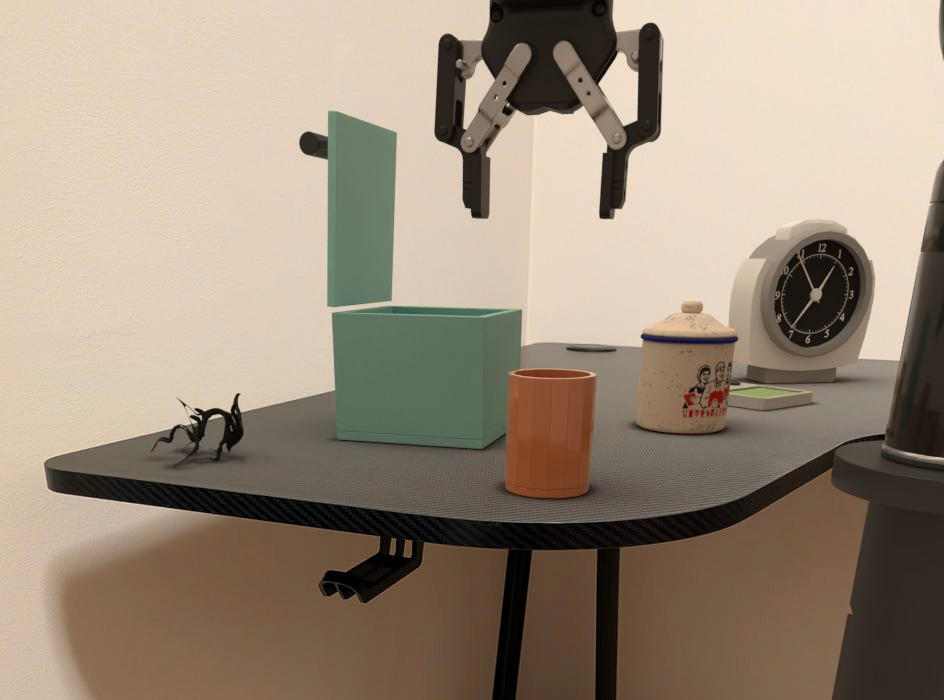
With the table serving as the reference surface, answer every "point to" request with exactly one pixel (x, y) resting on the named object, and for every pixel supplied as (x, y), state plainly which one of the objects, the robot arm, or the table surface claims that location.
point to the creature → (198, 431)
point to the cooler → (424, 374)
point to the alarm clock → (802, 303)
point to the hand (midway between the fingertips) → (542, 218)
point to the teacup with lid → (685, 373)
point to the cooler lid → (357, 208)
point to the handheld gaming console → (765, 396)
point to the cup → (549, 432)
